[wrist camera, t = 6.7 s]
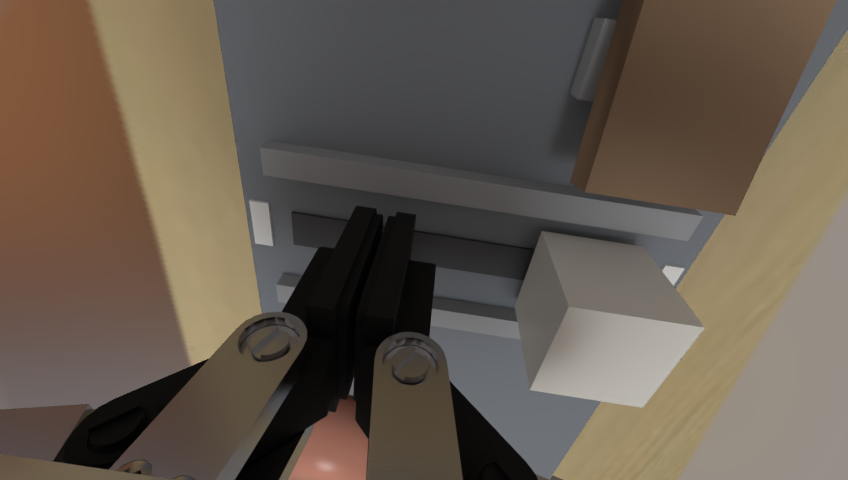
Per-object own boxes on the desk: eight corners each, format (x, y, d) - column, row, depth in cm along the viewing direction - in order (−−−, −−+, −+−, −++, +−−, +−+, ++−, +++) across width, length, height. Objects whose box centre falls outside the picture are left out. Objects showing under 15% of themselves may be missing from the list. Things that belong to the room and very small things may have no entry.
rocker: (646, -81, 7) (678, -109, 6) (814, -54, 7) (873, -78, 6) (569, 182, 9) (584, 192, 8) (703, 203, 9) (735, 215, 8)
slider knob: (541, 230, 11) (569, 306, 8) (643, 246, 11) (704, 327, 8) (514, 306, 12) (529, 390, 10) (603, 320, 12) (642, 407, 10)
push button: (303, 374, 18) (271, 448, 15) (385, 387, 18) (370, 464, 15) (307, 421, 20) (280, 494, 17) (380, 432, 20) (366, 507, 17)
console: (258, -137, 9) (158, -207, 6) (795, -54, 9) (958, -82, 6) (303, 406, 23) (278, 470, 19) (529, 441, 22) (540, 511, 19)
